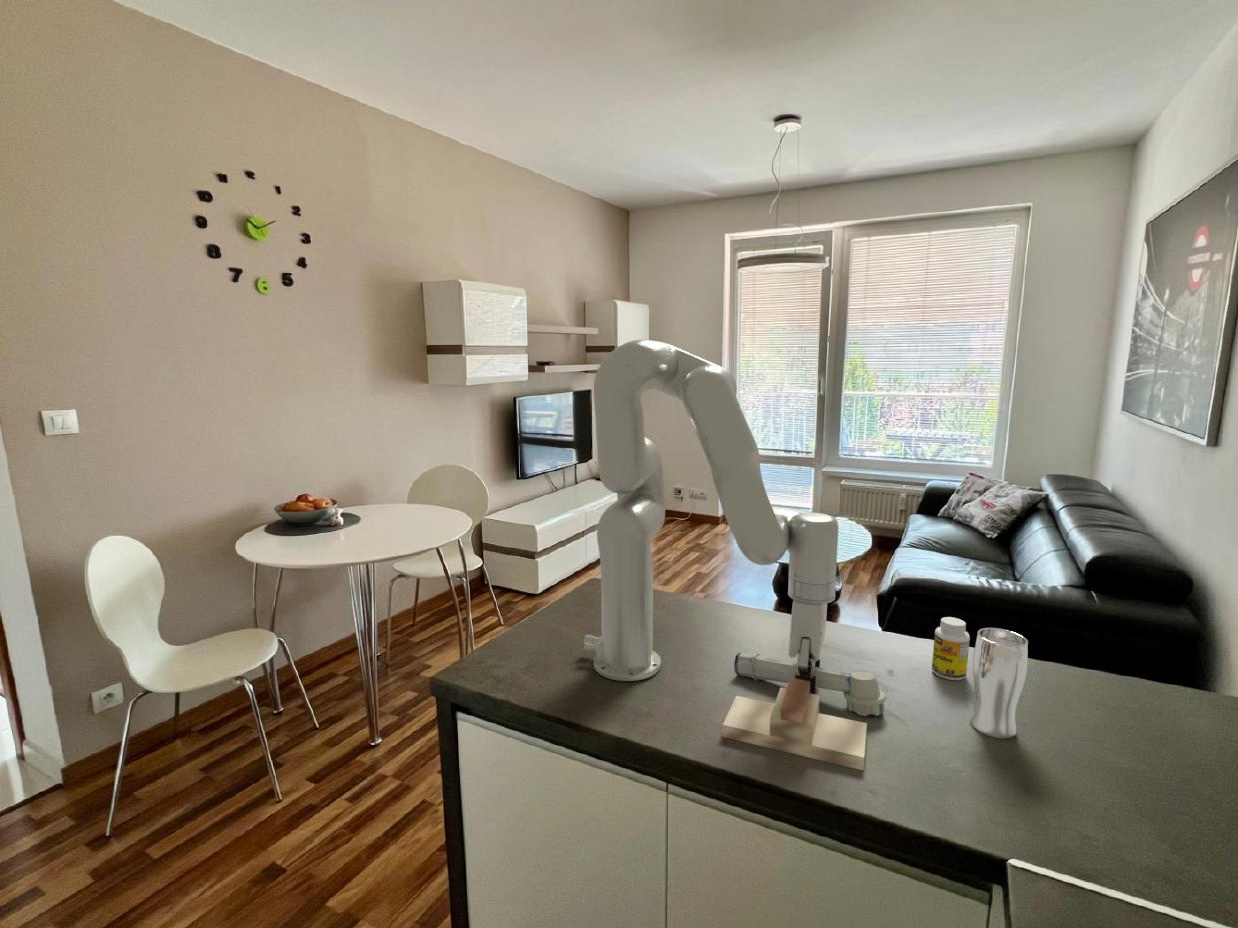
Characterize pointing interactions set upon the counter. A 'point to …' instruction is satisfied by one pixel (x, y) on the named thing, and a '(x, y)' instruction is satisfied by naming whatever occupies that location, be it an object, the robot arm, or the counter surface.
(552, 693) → the counter surface
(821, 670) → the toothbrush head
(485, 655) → the counter surface
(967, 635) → the supplement bottle
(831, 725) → the stepped podium stack
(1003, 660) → the beer glass
